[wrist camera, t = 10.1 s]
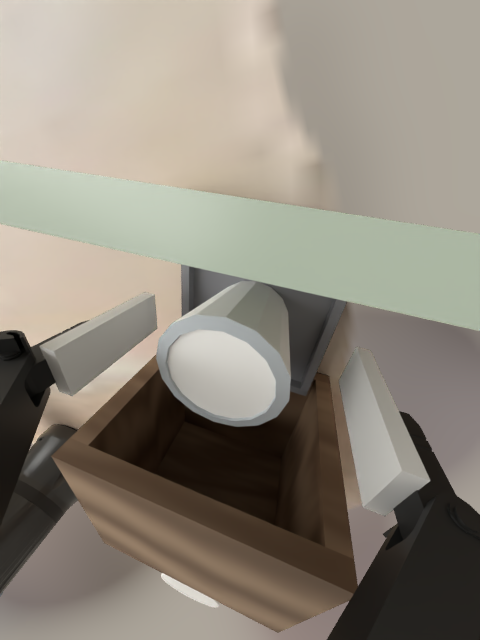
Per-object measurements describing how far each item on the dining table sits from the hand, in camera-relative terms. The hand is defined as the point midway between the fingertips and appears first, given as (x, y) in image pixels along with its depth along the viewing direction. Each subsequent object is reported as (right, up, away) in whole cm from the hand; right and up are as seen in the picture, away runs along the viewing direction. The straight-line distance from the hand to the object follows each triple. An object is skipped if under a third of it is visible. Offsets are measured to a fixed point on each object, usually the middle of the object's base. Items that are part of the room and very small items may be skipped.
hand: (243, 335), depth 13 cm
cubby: (0, -8, +10) cm, 13 cm away
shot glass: (+1, +1, +3) cm, 3 cm away
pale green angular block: (+1, +2, +2) cm, 4 cm away
